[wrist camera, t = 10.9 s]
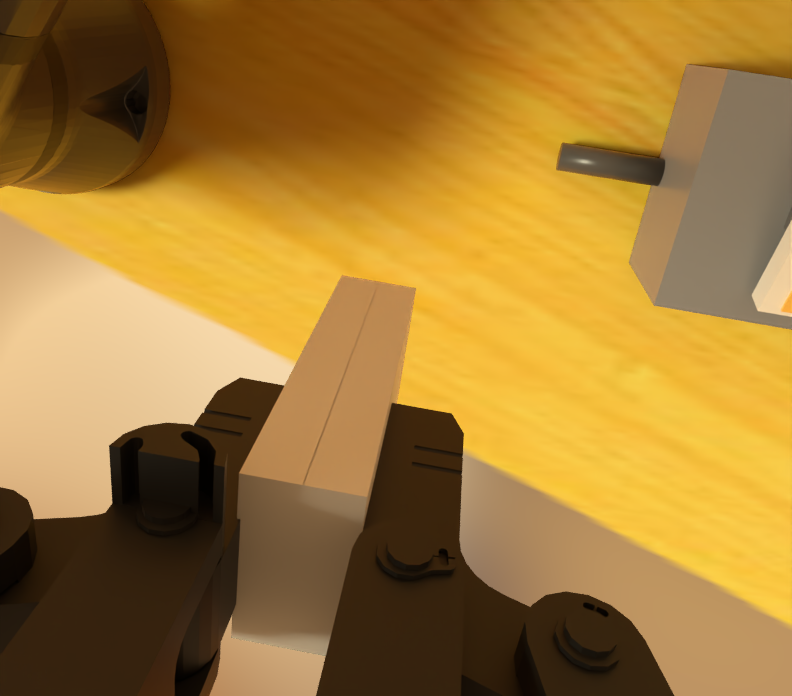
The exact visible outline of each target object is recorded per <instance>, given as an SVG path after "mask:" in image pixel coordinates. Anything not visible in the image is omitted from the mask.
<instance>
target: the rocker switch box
mask: <svg viewBox="0 0 792 696" xmlns="http://www.w3.org/2000/svg"><path fill="white" fill-rule="evenodd" d="M556 169H557V170H560V171H566V172H572V173H578V174H584V175H591V176H597V177H603V178H609V179H615V180H621V181H627V182H633V183H640V184H646V185H651V189H650V192H649V195H648V199H647V202H646V206H645V209H644V213H643V216H642V219H641V223H640V226H639V230H638V233H637V236H636V240H635V243H634V247H633V250H632V254H631V257H630V260H629V264H630V265H631V267H632V269H633V270H634V272H635V274H636V276H637V277H638V279H639V281H640V282H641V284H642V286H643V288H644V289H645V291H646V293H647V294H648V296H649V298H650V300H651V301H652V303H653V305H654V306H660V307H666V308H672V309H677V310H683V311H689V312H694V313H700V314H706V315H712V316H717V317H723V318H729V319H735V320H740V321H746V322H752V323H757V324H763V325H769V326H775V327H780V328H786V329H792V317H790V316H784V315H778V314H772V313H766V312H761V311H758V310H757V308H756V305H755V303H754V300H753V298H752V293H753V292H754V290H755V288H756V286H757V284H758V282H759V280H760V278H761V276H762V275H763V273H764V271H765V269H766V267H767V265H768V263H769V261H770V260H771V258H772V256H773V254H774V252H775V250H776V248H777V246H778V244H779V243H780V241H781V239H782V237H783V235H784V233H785V231H786V229H787V227H788V226H789V224H790V222H791V220H792V79H789V78H783V77H776V76H770V75H763V74H756V73H750V72H743V71H736V70H730V69H722V68H714V67H706V66H698V65H690V64H687V65H686V69H685V72H684V76H683V79H682V82H681V86H680V89H679V93H678V96H677V99H676V103H675V106H674V110H673V113H672V117H671V120H670V123H669V127H668V130H667V134H666V137H665V141H664V144H663V147H662V151H661V154H660V158H655V157H649V156H643V155H636V154H630V153H624V152H618V151H611V150H605V149H599V148H593V147H586V146H580V145H574V144H568V143H562V145H561V148H560V151H559V155H558V160H557V167H556Z"/></svg>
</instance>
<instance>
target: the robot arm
mask: <svg viewBox="0 0 792 696" xmlns="http://www.w3.org/2000/svg"><path fill="white" fill-rule="evenodd" d="M169 100H170V78H169V69H168V63H167V58H166V53H165V50H164V46H163V43H162V40H161V37H160V34H159V32H158V29H157V27H156V25H155V22H154V20H153V19H152V17H151V15H150V13H149V11H148V9H147V8H146V6H145V4H144V3H143V1H142V0H0V188H2V187H5V186H8V185H9V186H14V187H19V188H25V189H32V190H37V191H41V192H46V193H53V194H76V193H83V192H89V191H92V190H96V189H98V188H101V187H104V186H107V185H109V184H112V183H115V182H117V181H119V180H121V179H123V178H125V177H127V176H128V175H130V174H131V173H132V172H134V171H135V170H136V169H137V168H139V167H140V166H141V165H142V164H143V163H144V162H145V161H146V159H147V158H148V157H149V156H150V154H151V153H152V151H153V150H154V148H155V146H156V145H157V143H158V141H159V139H160V137H161V134H162V132H163V129H164V126H165V123H166V119H167V114H168V109H169ZM415 291H416V288H411V287H406V286H400V285H394V284H388V283H383V282H377V281H371V280H366V279H360V278H354V277H348V276H343V275H342V276H341V278H340V280H339V282H338V284H337V286H336V288H335V290H334V292H333V294H332V296H331V298H330V299H329V301H328V303H327V305H326V307H325V309H324V311H323V313H322V315H321V317H320V319H319V321H318V323H317V324H316V326H315V328H314V330H313V332H312V334H311V336H310V338H309V340H308V342H307V344H306V346H305V347H304V349H303V351H302V353H301V355H300V357H299V359H298V361H297V363H296V365H295V367H294V369H293V371H292V372H291V374H290V376H289V379H288V380H287V382H286V384H285V386H283V385H278V384H273V383H267V382H261V381H255V380H250V379H245V378H239V379H237V380H236V381H234V382H232V383H230V384H229V385H227V386H225V387H223V388H222V389H220V390H218V391H217V392H216V394H215V395H214V397H213V398H212V400H211V401H210V402H209V404H208V405H207V407H206V408H205V411H204V413H202V414H201V415H200V417H199V418H198V420H197V421H196V423H195V424H194V426H193V425H190V424H177V423H162V424H155V425H148V426H143V427H141V428H138V429H135V430H133V431H130V432H128V433H125V434H123V435H122V436H121V437H120V438H118V439H117V440H116V441H115V442H114V443H112V444H111V445H110V446H109V449H110V467H111V485H112V502H113V503H112V505H111V506H110V507H109V509H108V510H107V511H106V513H103V514H99V515H94V516H86V517H73V518H53V519H33V513H32V510H31V507H30V505H29V502H28V500H27V499H26V498H24V497H23V496H21V495H20V494H18V493H17V492H16V491H14V490H10V489H6V488H1V487H0V696H209V695H210V692H211V690H212V687H213V684H214V682H215V680H216V677H217V673H218V667H219V661H220V642H221V640H222V637H223V635H224V632H225V630H226V627H227V625H228V623H229V620H230V618H231V615H232V633H231V637H232V638H236V639H241V640H246V641H252V642H256V643H261V644H267V645H272V646H277V647H282V648H287V649H292V650H297V651H302V652H307V653H313V654H318V655H323V656H326V658H325V662H324V666H323V670H322V674H321V678H320V682H319V687H318V691H317V695H316V696H674V694H673V693H672V691H671V689H670V687H669V685H668V683H667V681H666V679H665V677H664V676H663V673H662V672H661V670H660V668H659V666H658V664H657V662H656V660H655V658H654V656H653V654H652V652H651V651H650V649H649V647H648V645H647V643H646V641H645V639H644V638H643V637H642V635H641V634H640V633H639V631H638V630H637V629H636V627H635V626H634V625H633V623H632V622H631V621H630V620H629V619H628V618H626V617H625V616H624V615H623V614H621V613H620V612H619V611H617V610H616V609H615V608H613V607H612V606H611V605H609V604H607V603H605V602H602V601H600V600H598V599H596V598H593V597H591V596H589V595H584V594H578V593H571V592H561V593H555V594H549V595H546V596H544V597H543V598H541V599H540V600H538V601H537V602H536V603H534V604H533V605H532V606H531V607H529V606H527V605H525V604H522V603H520V602H518V601H516V600H514V599H511V598H509V597H507V596H505V595H503V594H501V593H500V592H498V591H496V590H494V589H493V588H491V587H489V586H488V585H487V584H485V583H484V582H483V581H482V580H481V579H479V578H478V577H477V576H476V575H475V574H474V573H473V571H472V570H471V569H470V567H469V566H468V565H467V564H466V562H465V559H464V557H463V555H462V553H461V551H460V550H461V549H460V542H459V531H460V509H461V485H462V475H461V474H462V461H463V460H462V459H463V458H462V455H463V437H464V433H463V432H462V430H461V428H460V427H459V425H458V423H457V422H456V420H455V418H454V417H453V415H452V414H451V413H445V412H440V411H434V410H429V409H423V408H417V407H412V406H406V405H401V404H397V399H398V393H399V387H400V381H401V375H402V369H403V363H404V357H405V351H406V345H407V339H408V333H409V327H410V321H411V315H412V309H413V303H414V297H415Z"/></svg>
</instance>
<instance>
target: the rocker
mask: <svg viewBox="0 0 792 696" xmlns="http://www.w3.org/2000/svg"><path fill="white" fill-rule="evenodd" d="M752 298H753V300H754V303H755V305H756V308H757V310H758V311H761V312H766V313H772V314H778V315H784V316H790V317H792V220H791V222H790V224H789V226H788V227H787V229H786V231H785V233H784V235H783V237H782V239H781V241H780V243H779V244H778V246H777V248H776V250H775V252H774V254H773V256H772V258H771V260H770V261H769V263H768V265H767V267H766V269H765V271H764V273H763V275H762V276H761V278H760V280H759V282H758V284H757V286H756V288H755V290H754V292H753V293H752Z"/></svg>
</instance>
